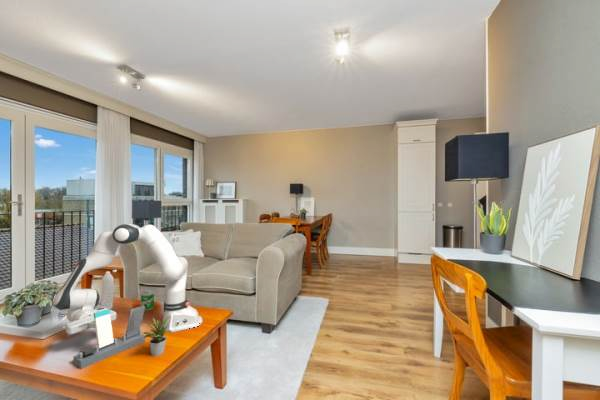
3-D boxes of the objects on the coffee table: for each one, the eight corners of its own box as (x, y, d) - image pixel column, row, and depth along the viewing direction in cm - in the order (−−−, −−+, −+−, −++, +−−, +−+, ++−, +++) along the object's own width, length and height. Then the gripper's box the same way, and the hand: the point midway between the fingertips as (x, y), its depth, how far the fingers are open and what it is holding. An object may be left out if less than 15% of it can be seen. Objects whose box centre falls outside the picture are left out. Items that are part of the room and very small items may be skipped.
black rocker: (90, 349, 122) (90, 346, 122) (96, 350, 119) (96, 347, 119) (80, 353, 119) (80, 350, 119) (86, 354, 116) (85, 352, 116)
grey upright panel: (137, 332, 138) (143, 305, 135) (138, 333, 137) (145, 306, 135) (124, 336, 133) (131, 309, 130) (126, 338, 132) (132, 310, 129)
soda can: (139, 309, 177) (139, 291, 177) (151, 306, 183) (151, 289, 183) (142, 312, 172) (143, 294, 172) (155, 309, 178) (155, 291, 178)
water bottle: (103, 311, 173) (104, 273, 174) (98, 309, 177) (99, 271, 177) (118, 307, 181) (119, 270, 181) (113, 305, 184) (114, 269, 185)
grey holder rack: (136, 337, 141) (136, 327, 141) (144, 341, 137) (145, 331, 137) (73, 362, 118) (73, 350, 118) (81, 369, 114) (81, 356, 114)
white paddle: (112, 342, 128) (107, 309, 131) (114, 342, 127) (109, 308, 130) (97, 348, 123) (93, 313, 126) (99, 348, 122) (94, 312, 125)
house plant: (154, 342, 136) (155, 310, 136) (180, 344, 134) (180, 312, 134) (134, 358, 121) (135, 323, 122) (162, 361, 120) (163, 325, 120)
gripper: (61, 320, 128) (72, 327, 121) (109, 306, 145) (121, 312, 138) (60, 333, 128) (72, 341, 120) (108, 318, 145) (121, 324, 138)
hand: (99, 325), depth 129 cm, fingers closed
